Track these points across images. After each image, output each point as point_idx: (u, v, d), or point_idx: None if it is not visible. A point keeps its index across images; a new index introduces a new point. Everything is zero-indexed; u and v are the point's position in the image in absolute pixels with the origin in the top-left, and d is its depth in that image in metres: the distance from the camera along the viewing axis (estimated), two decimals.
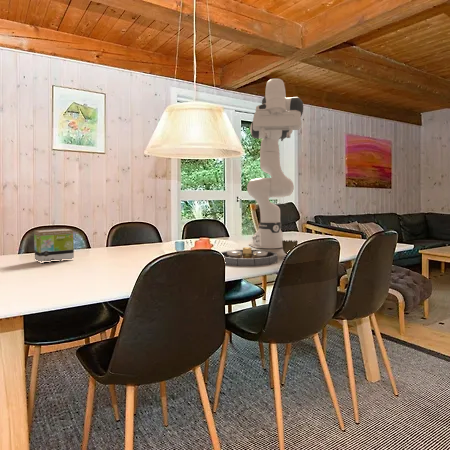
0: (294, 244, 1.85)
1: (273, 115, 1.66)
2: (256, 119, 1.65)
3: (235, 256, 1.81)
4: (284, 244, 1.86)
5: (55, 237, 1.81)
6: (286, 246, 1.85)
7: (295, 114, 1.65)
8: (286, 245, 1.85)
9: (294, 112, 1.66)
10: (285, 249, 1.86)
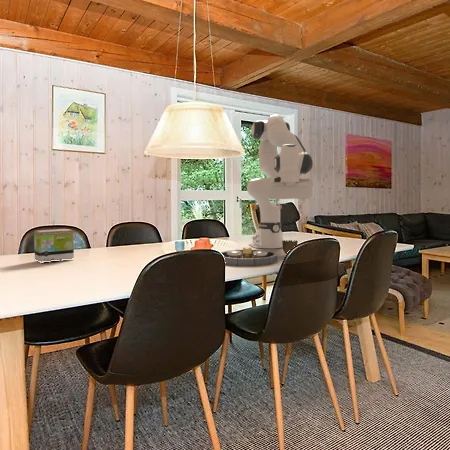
0: (294, 244, 1.85)
1: (287, 187, 1.82)
2: (272, 191, 1.82)
3: (235, 256, 1.81)
4: (284, 244, 1.86)
5: (55, 237, 1.81)
6: (286, 246, 1.85)
7: (307, 186, 1.81)
8: (286, 245, 1.85)
9: (306, 184, 1.81)
10: (285, 249, 1.86)
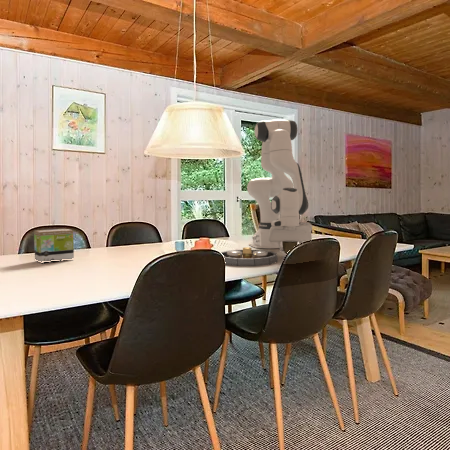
0: (294, 244, 1.85)
1: (287, 230, 1.86)
2: (272, 235, 1.86)
3: (235, 256, 1.81)
4: (284, 244, 1.86)
5: (55, 237, 1.81)
6: (286, 246, 1.85)
7: (307, 230, 1.85)
8: (286, 245, 1.85)
9: (306, 228, 1.85)
10: (285, 249, 1.86)
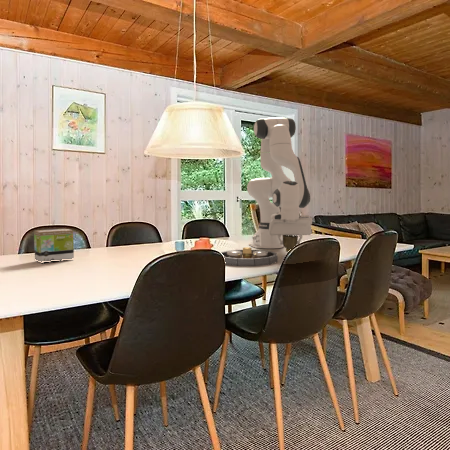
0: (294, 239, 1.85)
1: (287, 223, 1.86)
2: (272, 228, 1.86)
3: (235, 256, 1.81)
4: (284, 238, 1.86)
5: (55, 237, 1.81)
6: (286, 240, 1.86)
7: (307, 223, 1.85)
8: (286, 240, 1.86)
9: (306, 221, 1.85)
10: (285, 243, 1.86)
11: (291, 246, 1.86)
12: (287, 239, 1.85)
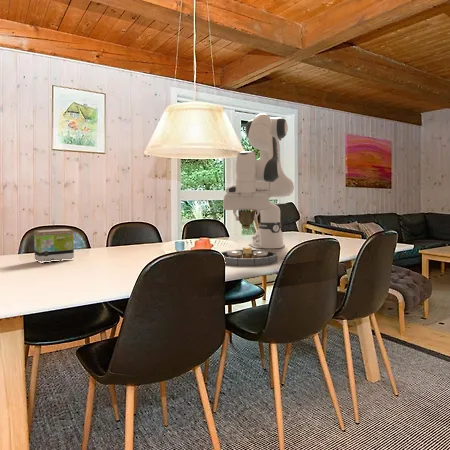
0: (250, 214, 1.69)
1: (243, 197, 1.70)
2: (226, 202, 1.71)
3: (235, 256, 1.81)
4: (240, 213, 1.70)
5: (55, 237, 1.81)
6: (242, 216, 1.69)
7: (264, 197, 1.69)
8: (242, 215, 1.69)
9: (263, 194, 1.69)
10: (240, 219, 1.70)
11: (247, 222, 1.69)
12: (242, 214, 1.69)
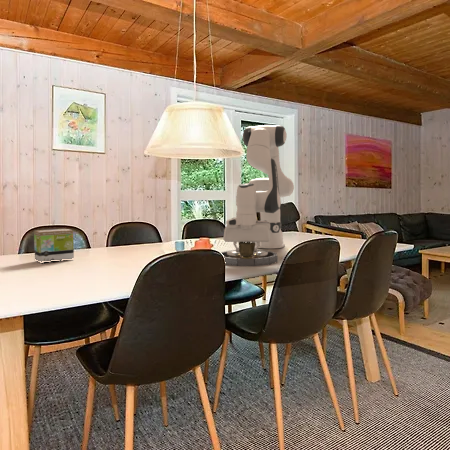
0: (250, 246, 1.70)
1: (243, 229, 1.71)
2: (227, 234, 1.72)
3: (235, 256, 1.81)
4: (240, 245, 1.71)
5: (55, 237, 1.81)
6: (242, 248, 1.71)
7: (264, 229, 1.70)
8: (242, 247, 1.71)
9: (263, 227, 1.70)
10: (241, 251, 1.72)
11: (247, 254, 1.71)
12: (243, 246, 1.70)
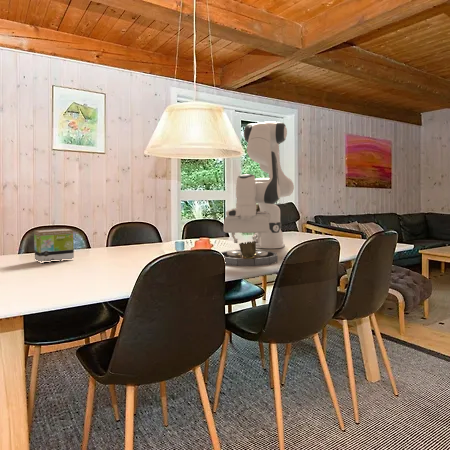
0: (251, 245, 1.71)
1: (243, 220, 1.71)
2: (226, 225, 1.72)
3: (235, 256, 1.81)
4: (241, 247, 1.72)
5: (55, 237, 1.81)
6: (243, 248, 1.71)
7: (264, 220, 1.70)
8: (243, 247, 1.71)
9: (263, 217, 1.70)
10: (243, 252, 1.72)
11: (250, 253, 1.71)
12: (244, 247, 1.71)
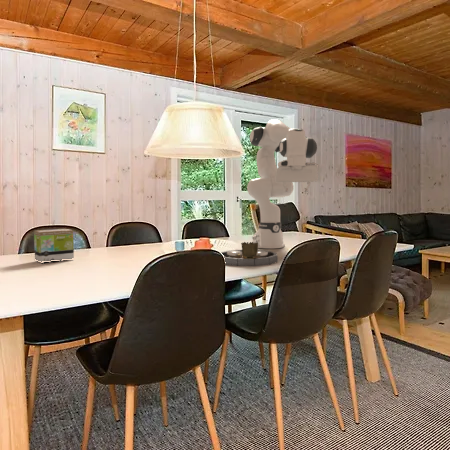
0: (253, 246, 1.70)
1: (293, 170, 1.87)
2: (278, 175, 1.88)
3: (235, 256, 1.81)
4: (243, 246, 1.72)
5: (55, 237, 1.81)
6: (245, 248, 1.71)
7: (313, 170, 1.86)
8: (245, 247, 1.71)
9: (312, 167, 1.86)
10: (244, 252, 1.72)
11: (250, 254, 1.71)
12: (245, 247, 1.71)
